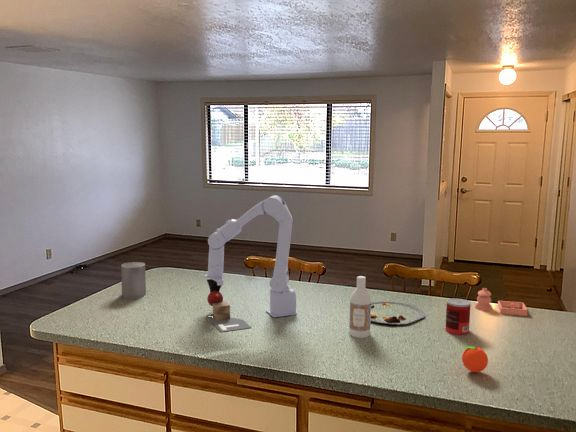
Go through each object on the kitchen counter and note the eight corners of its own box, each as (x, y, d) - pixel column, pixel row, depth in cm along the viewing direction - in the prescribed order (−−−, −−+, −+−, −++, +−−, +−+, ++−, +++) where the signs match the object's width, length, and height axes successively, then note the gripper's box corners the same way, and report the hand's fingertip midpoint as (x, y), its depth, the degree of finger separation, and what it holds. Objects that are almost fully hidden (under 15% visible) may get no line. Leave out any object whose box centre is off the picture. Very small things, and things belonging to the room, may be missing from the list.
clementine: (456, 373, 141) (458, 349, 140) (457, 363, 147) (459, 340, 146) (487, 378, 138) (489, 353, 137) (487, 368, 144) (488, 344, 143)
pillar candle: (128, 292, 216) (127, 258, 214) (149, 293, 214) (149, 259, 212) (117, 299, 206) (116, 263, 204) (140, 300, 205) (139, 264, 203)
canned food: (468, 330, 175) (470, 299, 173) (468, 338, 167) (470, 306, 166) (445, 327, 177) (447, 297, 176) (444, 335, 170) (446, 303, 168)
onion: (223, 300, 193) (228, 292, 187) (215, 312, 190) (220, 305, 183) (210, 292, 193) (215, 284, 187) (202, 304, 189) (207, 296, 183)
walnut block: (226, 314, 188) (225, 301, 187) (230, 318, 183) (229, 305, 183) (213, 316, 186) (212, 303, 185) (216, 320, 181) (216, 307, 181)
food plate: (394, 334, 171) (394, 324, 171) (343, 316, 189) (343, 307, 188) (435, 318, 188) (435, 309, 187) (385, 303, 205) (385, 295, 205)
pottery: (522, 313, 194) (524, 288, 193) (527, 321, 185) (528, 295, 184) (473, 308, 199) (474, 284, 198) (475, 316, 190) (476, 290, 189)
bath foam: (347, 337, 167) (349, 278, 164) (351, 330, 173) (352, 273, 171) (368, 339, 165) (370, 280, 162) (371, 332, 171) (373, 275, 169)
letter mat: (235, 312, 191) (235, 312, 191) (251, 327, 175) (251, 327, 174) (206, 316, 186) (206, 315, 186) (220, 332, 170) (220, 331, 170)
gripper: (200, 259, 194) (199, 293, 196) (210, 269, 181) (208, 305, 183) (218, 258, 197) (217, 292, 199) (229, 268, 183) (227, 304, 186)
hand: (214, 298), depth 191 cm, fingers closed, pressing on onion
